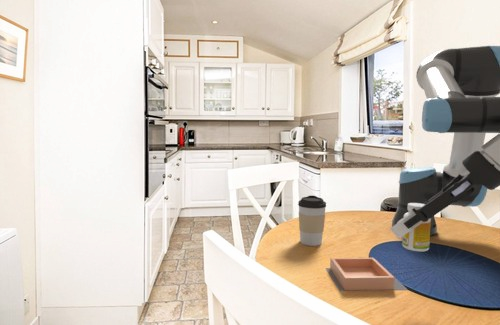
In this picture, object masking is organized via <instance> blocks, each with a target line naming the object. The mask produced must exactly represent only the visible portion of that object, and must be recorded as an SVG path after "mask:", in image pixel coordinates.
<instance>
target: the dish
mask: <svg viewBox="0 0 500 325" xmlns="http://www.w3.org/2000/svg"><path fill="white" fill-rule="evenodd" d="M329 268H330V269H331V271H332V272H333V274H334V275H335V276H336V278H337V279H338V281H339V282H340V284H341V285H342V287H343V288H344V290H363V291H395V290H394V281H395V278H396V277H395V276H394V275H393V274H392V273H391V272H390V273H391V274H390V273H389V271H388V270H387V268H386V267H385V266H383V265H382V264H381V263H380V262H379V261H378V260H377V259H375V257H330V264H329Z"/></svg>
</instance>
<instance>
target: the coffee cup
mask: <svg viewBox="0 0 500 325" xmlns="http://www.w3.org/2000/svg"><path fill="white" fill-rule="evenodd" d="M297 205H298V227H299V238H300V239H299V242H300V243H301V244H302V245H304V246H311V247H312V246H313V247H316V246H320V245H322V242H323V232H324V229H325V220H326V207H327V201H324V198H322V197H318V196H316V195H308V196H304V197H301V199H300V200H299V201H298V204H297Z"/></svg>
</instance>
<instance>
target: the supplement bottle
mask: <svg viewBox="0 0 500 325" xmlns="http://www.w3.org/2000/svg"><path fill="white" fill-rule="evenodd" d="M424 205H425V204H421V203H408V207H407V209H408V211H409V212H407V213H405V214H404V218H406V217H407V216H408V215H410V214H411V213H413V211H412V209H413V208H415V209H416V210H418V209H420V208H421V207H423V206H424ZM404 218H403V219H404ZM430 227H431V218H430V219H428V221H427V222H423V223H422V224H420V225H419V226H417V227H416V228H414V229H413V230H411V231H410V232H408V233H407V234H405V235H404V236H402V237H401V238H402V239H401V245H402V247H403V248H405V249H406V250H409V251H413V252H427V251H429V249H430V244H431V242H430V240H431V235H430Z"/></svg>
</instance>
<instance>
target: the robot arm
mask: <svg viewBox="0 0 500 325" xmlns="http://www.w3.org/2000/svg"><path fill="white" fill-rule="evenodd" d="M415 76H416V77H415V78H416V82H417V84H418V86H419V88H421V89H422V90H423V92H424V95H425V97H426V99H425V101H424V103H423V105H422V112H421V115H422V116H421V127H422V129H423V130H424V131H425V132H428V133H437V134H445V133H449V134H450V133H452V134H453V138H452V145H451V151H450V157H449V163H447V164H446V165H444V166H443V169H442V170H443V171H437V170H436V168H435V167H429V166H428V167H426V166H424V167H411V168H405V169H403V170H401V171H400V173H399V181H398V185H399V186H398V199H397V202H398V203H397V209H396V211H395V213H394V216H393V218H392V221H391V226H390V231H391V232H393V234H394V235H395V236H396V238H398V239H401V238H402V236H404V235H405V234H407V233H408V232H410V231H411V230H413V229H414V228H416V227H417V226H419V225H420V224H422V223H423V222H427V221H428V219H430V218H431V227H430V236H435V235H436V234H437V232H438V225H437V223H436V219H435V216H436V215H437V214H439V213H441V212H442V211H443V210H444V209H446V208H448V207H449V206H458V207H460V206H461V207H463V208H467V207H470V208H471V207H479V206H480V205H482V203H483V202H484V200H485V199H486V197H487V193H488V190H491V191H493V190H495V189H497V188H498V187H500V96H499V95H500V45H484V46H483V45H482V46H481V45H480V46H471V47H470V46H469V47H461V48H447V49H442V50H440V51H437V52H434V53H433V54H431V55H430V56H428V57H426V58H425V59H424V60H423V61H422V62H421V63H420V64H419V66H418V68H417V71H416V75H415ZM486 134H496V135H494V136H493V137H492V138H491V139H489V140H487V142H486V143H485V139H486ZM408 203H421V204H425V205H424V206H423V207H421V208H420V209H418V210H416V209H415V208H413V209H412V211H413V213H411V214H410V215H408V216H407V217H406V218H404V214H405V213H407V212H409V211H408V209H407V207H408ZM403 218H404V219H403Z"/></svg>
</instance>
